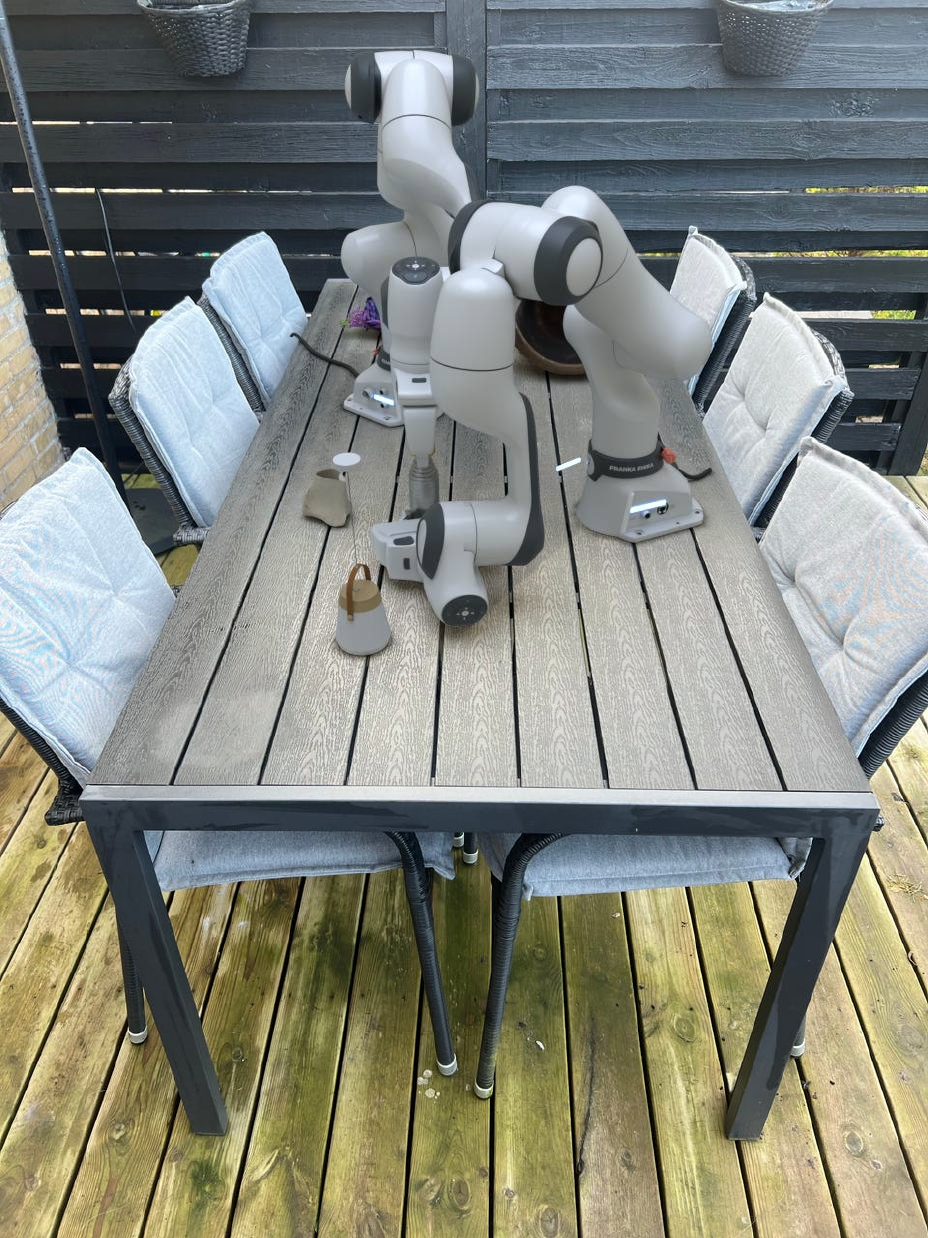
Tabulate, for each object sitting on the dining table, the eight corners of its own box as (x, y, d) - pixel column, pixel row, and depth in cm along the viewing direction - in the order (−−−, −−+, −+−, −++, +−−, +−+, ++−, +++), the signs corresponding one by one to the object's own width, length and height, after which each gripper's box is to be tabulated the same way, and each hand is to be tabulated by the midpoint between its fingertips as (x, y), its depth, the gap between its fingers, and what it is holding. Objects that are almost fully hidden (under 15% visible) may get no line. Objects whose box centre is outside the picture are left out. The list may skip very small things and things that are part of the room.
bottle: (446, 539, 161) (444, 441, 150) (429, 553, 158) (425, 453, 146) (423, 531, 163) (419, 433, 152) (405, 543, 160) (400, 445, 149)
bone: (352, 523, 169) (358, 468, 167) (345, 530, 162) (351, 474, 159) (303, 516, 169) (308, 461, 167) (294, 523, 162) (299, 466, 159)
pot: (527, 218, 229) (547, 194, 200) (639, 277, 234) (675, 262, 205) (471, 342, 235) (483, 336, 206) (582, 397, 240) (609, 398, 211)
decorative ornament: (459, 312, 230) (337, 314, 227) (457, 347, 238) (340, 349, 236) (454, 280, 238) (336, 281, 235) (453, 315, 246) (339, 317, 244)
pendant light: (377, 661, 135) (361, 478, 117) (326, 649, 137) (303, 468, 119) (399, 628, 141) (388, 450, 123) (351, 617, 143) (332, 440, 125)
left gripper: (400, 346, 150) (404, 425, 158) (397, 399, 134) (402, 484, 142) (439, 346, 150) (441, 424, 159) (441, 399, 134) (443, 483, 142)
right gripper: (505, 529, 147) (483, 487, 158) (377, 546, 143) (363, 502, 154) (504, 562, 151) (482, 519, 162) (380, 580, 147) (366, 534, 158)
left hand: (422, 453), depth 150 cm, fingers open, 6 cm apart
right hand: (423, 511), depth 158 cm, fingers closed on bottle, 5 cm apart
